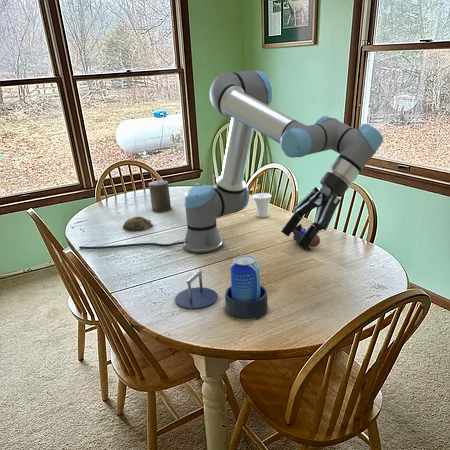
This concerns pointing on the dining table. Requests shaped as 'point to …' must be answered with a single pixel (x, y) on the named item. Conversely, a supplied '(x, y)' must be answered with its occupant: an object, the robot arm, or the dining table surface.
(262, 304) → the pot
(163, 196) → the pillar candle
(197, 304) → the lid
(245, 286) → the beer can
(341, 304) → the dining table surface
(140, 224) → the bread roll
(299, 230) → the character figurine
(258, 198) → the cup
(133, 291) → the dining table surface
